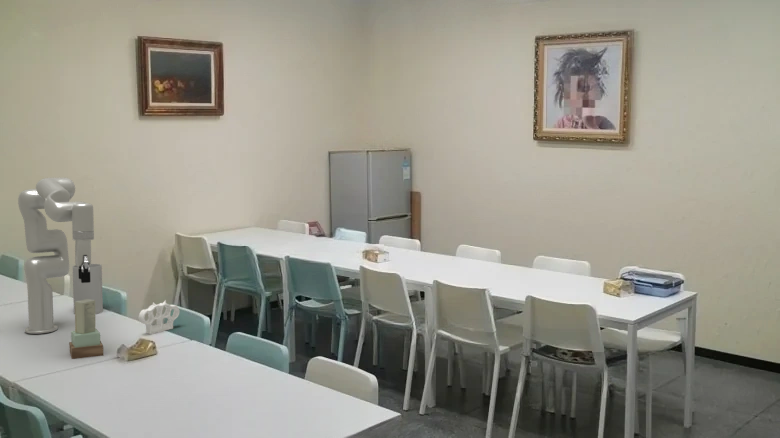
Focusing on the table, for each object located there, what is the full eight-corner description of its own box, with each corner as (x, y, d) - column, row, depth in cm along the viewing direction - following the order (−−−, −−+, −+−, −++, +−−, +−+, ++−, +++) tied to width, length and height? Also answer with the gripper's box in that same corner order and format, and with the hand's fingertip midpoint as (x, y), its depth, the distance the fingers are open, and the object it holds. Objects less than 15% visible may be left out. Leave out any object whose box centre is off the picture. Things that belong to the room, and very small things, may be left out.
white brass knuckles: (180, 331, 327) (179, 298, 326) (143, 339, 313) (143, 304, 311) (175, 330, 329) (174, 297, 328) (139, 338, 315) (138, 303, 314)
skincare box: (87, 329, 293) (87, 298, 291) (96, 331, 291) (96, 299, 290) (74, 332, 287) (74, 301, 286) (82, 334, 285) (82, 302, 284)
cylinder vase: (97, 315, 360) (96, 263, 358) (107, 319, 350) (105, 266, 348) (70, 318, 352) (68, 265, 350) (79, 323, 342) (77, 268, 340)
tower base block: (69, 353, 292) (69, 342, 292) (99, 350, 297) (99, 338, 297) (72, 360, 282) (71, 348, 282) (103, 356, 287) (103, 345, 287)
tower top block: (71, 342, 291) (71, 331, 290) (96, 339, 295) (95, 328, 295) (75, 347, 283) (74, 335, 283) (100, 344, 288) (100, 333, 287)
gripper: (70, 234, 292) (71, 277, 293) (74, 238, 276) (75, 284, 278) (91, 233, 295) (92, 276, 297) (96, 237, 280) (97, 283, 281)
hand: (84, 280), depth 287 cm, fingers open, 9 cm apart
